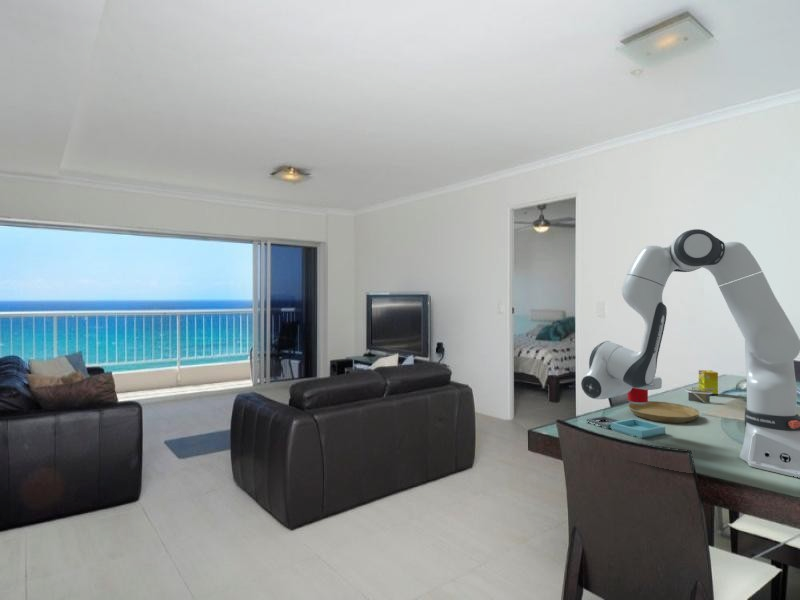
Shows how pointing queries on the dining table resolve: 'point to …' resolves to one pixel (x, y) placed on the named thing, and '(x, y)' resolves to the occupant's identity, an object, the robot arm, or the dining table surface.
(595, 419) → the socket
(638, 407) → the plant saucer
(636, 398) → the beverage can
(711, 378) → the supplement box
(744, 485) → the dining table surface
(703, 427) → the dining table surface
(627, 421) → the tray
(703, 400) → the platform
